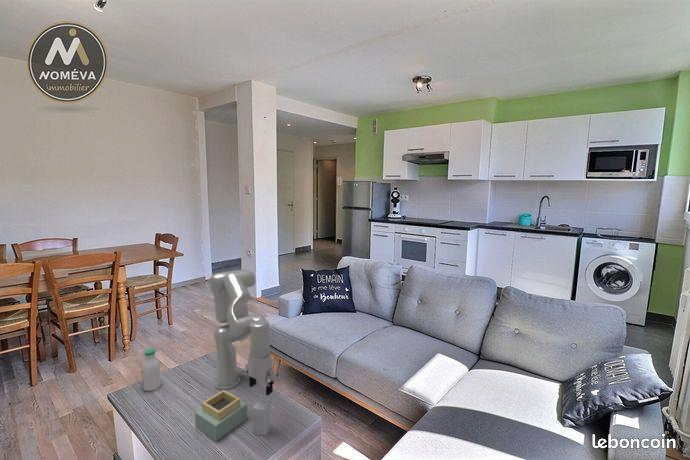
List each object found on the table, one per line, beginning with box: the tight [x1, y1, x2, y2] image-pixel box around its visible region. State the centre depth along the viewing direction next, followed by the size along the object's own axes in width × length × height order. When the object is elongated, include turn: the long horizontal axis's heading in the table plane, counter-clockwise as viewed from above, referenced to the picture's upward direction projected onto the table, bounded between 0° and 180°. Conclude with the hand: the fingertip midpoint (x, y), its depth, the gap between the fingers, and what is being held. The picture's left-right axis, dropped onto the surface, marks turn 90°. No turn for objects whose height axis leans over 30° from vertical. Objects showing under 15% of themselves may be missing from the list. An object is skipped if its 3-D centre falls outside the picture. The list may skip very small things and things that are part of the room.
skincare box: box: [251, 402, 270, 436], centre depth 137 cm, size 6×4×12 cm
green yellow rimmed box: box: [194, 389, 248, 442], centre depth 142 cm, size 16×14×10 cm
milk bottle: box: [141, 348, 162, 392], centre depth 164 cm, size 8×8×20 cm
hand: (261, 389), depth 135 cm, fingers open, 9 cm apart
